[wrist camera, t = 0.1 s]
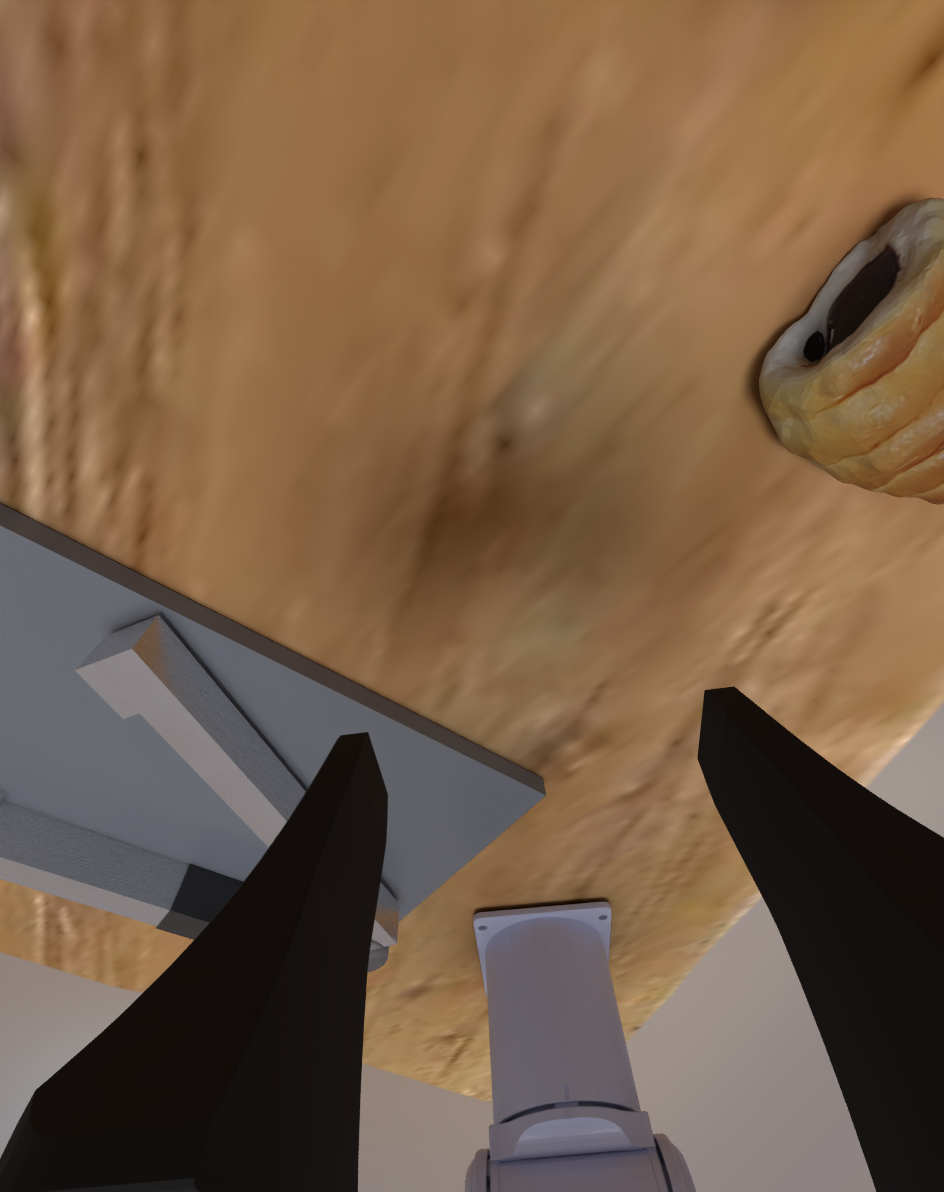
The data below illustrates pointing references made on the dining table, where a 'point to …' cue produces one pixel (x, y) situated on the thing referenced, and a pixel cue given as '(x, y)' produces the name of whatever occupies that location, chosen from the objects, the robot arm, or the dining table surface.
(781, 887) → the robot arm
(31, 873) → the arm
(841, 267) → the pastry
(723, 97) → the dining table surface
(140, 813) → the slate board
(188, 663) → the tongs moving arm
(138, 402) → the dining table surface
